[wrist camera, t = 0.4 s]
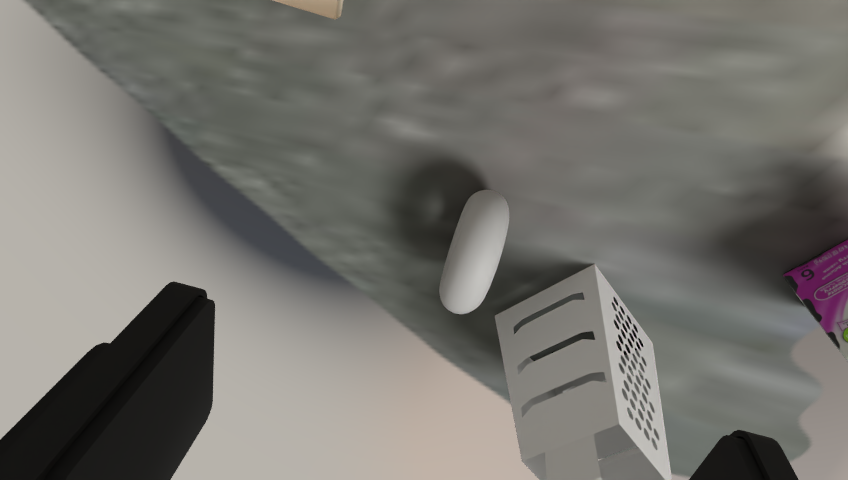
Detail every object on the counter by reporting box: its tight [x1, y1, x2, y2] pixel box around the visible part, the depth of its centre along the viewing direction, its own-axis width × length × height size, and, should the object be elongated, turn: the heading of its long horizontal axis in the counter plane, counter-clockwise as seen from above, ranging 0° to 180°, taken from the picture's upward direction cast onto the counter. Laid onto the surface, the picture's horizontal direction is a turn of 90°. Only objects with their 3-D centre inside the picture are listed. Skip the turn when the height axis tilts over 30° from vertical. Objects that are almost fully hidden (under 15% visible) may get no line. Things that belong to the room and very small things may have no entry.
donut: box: [439, 190, 509, 314], centre depth 42 cm, size 10×3×10 cm, turn 165°
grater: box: [495, 264, 672, 480], centre depth 42 cm, size 10×10×20 cm
